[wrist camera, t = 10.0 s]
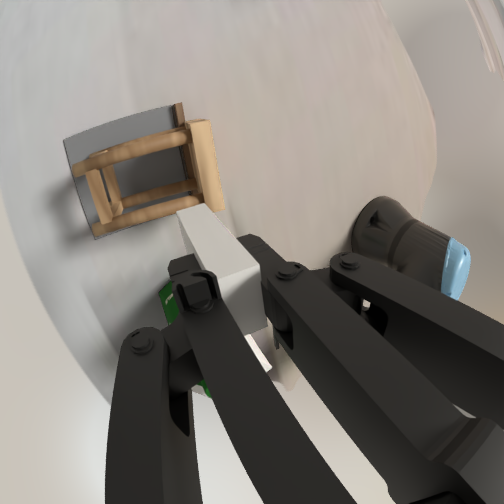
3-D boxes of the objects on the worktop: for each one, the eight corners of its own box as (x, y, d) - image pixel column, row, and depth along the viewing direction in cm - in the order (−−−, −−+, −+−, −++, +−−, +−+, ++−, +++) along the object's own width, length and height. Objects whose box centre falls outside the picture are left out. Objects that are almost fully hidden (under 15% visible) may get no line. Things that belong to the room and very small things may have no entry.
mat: (170, 105, 29) (171, 105, 28) (191, 206, 36) (191, 207, 36) (64, 139, 25) (63, 139, 24) (95, 239, 32) (95, 239, 32)
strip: (180, 103, 29) (181, 102, 28) (199, 204, 36) (201, 206, 35) (174, 104, 29) (175, 103, 28) (194, 205, 36) (196, 208, 35)
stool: (209, 120, 22) (67, 161, 20) (225, 209, 27) (96, 245, 24) (198, 118, 30) (91, 149, 27) (210, 186, 34) (110, 214, 32)
